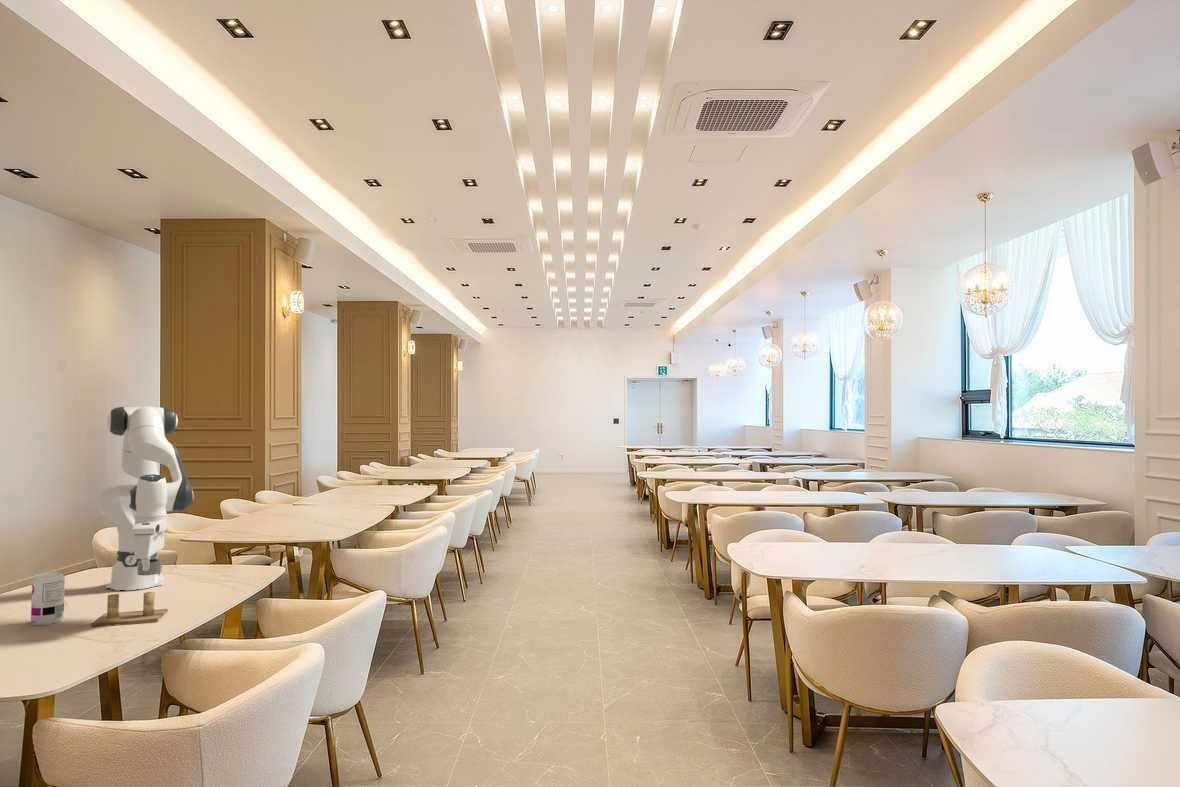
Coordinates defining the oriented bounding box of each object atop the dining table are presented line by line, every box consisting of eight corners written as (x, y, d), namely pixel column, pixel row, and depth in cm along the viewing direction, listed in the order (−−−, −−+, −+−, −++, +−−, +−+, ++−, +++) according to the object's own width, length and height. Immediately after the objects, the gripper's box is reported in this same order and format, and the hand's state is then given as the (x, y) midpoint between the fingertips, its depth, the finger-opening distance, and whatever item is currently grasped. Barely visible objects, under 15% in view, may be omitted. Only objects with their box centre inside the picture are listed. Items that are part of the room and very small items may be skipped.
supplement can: (25, 626, 217) (27, 577, 217) (38, 619, 225) (40, 572, 225) (56, 624, 219) (57, 576, 220) (68, 617, 227) (69, 570, 227)
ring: (141, 571, 229) (141, 559, 230) (163, 570, 231) (163, 558, 232) (135, 575, 223) (135, 563, 224) (157, 574, 225) (158, 562, 226)
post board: (104, 616, 228) (105, 591, 229) (167, 611, 234) (168, 587, 234) (91, 626, 217) (91, 600, 217) (157, 621, 223) (158, 596, 223)
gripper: (149, 521, 237) (147, 562, 236) (130, 530, 218) (128, 575, 217) (170, 520, 239) (169, 561, 238) (153, 529, 219) (152, 573, 219)
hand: (149, 568), depth 227 cm, fingers closed on ring, 6 cm apart
